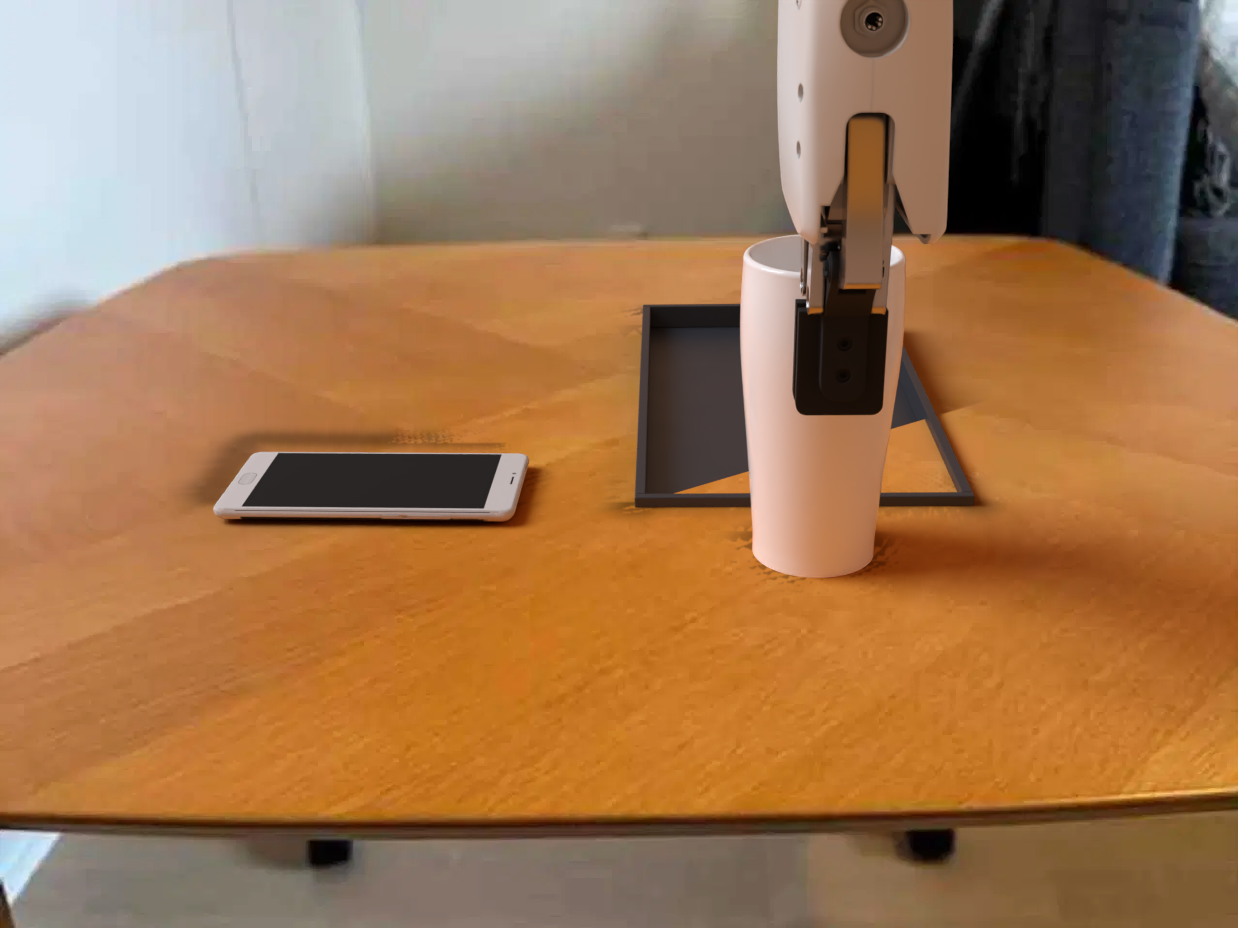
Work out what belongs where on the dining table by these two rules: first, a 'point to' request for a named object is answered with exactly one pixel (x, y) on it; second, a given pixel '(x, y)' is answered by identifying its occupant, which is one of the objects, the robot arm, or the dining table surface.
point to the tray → (730, 412)
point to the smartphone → (375, 486)
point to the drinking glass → (808, 429)
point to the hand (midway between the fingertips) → (836, 406)
